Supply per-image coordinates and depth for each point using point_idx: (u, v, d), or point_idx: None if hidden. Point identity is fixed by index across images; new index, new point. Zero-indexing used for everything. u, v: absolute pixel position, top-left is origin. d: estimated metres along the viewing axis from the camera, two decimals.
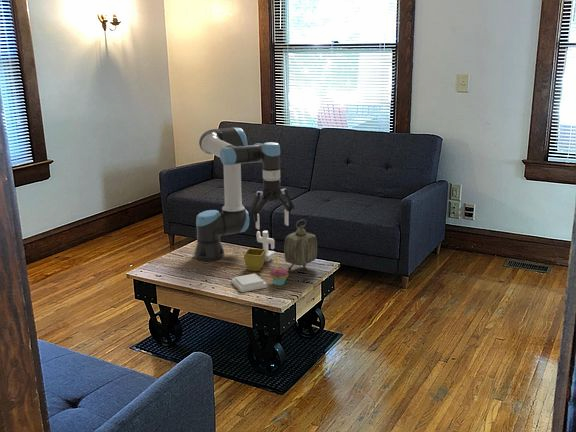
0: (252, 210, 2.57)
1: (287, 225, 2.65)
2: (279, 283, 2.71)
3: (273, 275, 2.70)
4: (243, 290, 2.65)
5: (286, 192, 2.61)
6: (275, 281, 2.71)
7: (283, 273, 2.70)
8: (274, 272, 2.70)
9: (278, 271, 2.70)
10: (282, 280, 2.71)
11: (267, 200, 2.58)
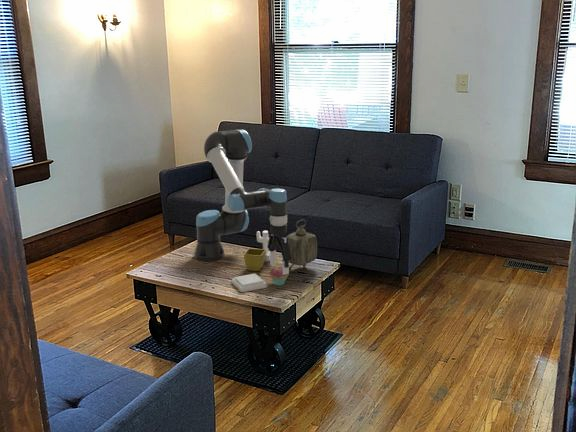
0: (268, 245, 2.77)
1: None
2: (279, 283, 2.71)
3: (273, 275, 2.70)
4: (243, 290, 2.65)
5: (282, 241, 2.62)
6: (275, 281, 2.71)
7: None
8: (274, 272, 2.70)
9: (278, 271, 2.70)
10: (282, 280, 2.71)
11: (272, 241, 2.70)
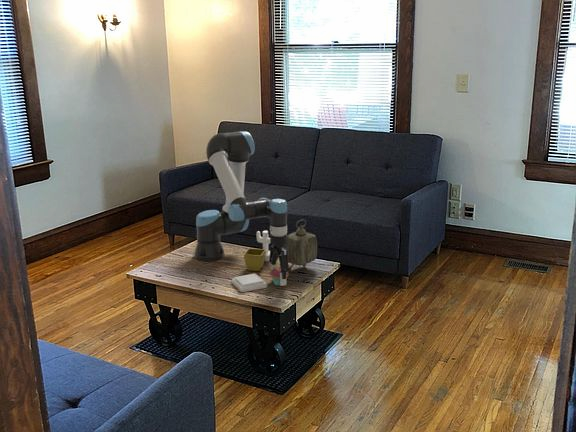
0: (269, 258, 2.78)
1: None
2: (279, 283, 2.71)
3: (273, 275, 2.70)
4: (243, 290, 2.65)
5: (282, 253, 2.64)
6: (275, 281, 2.71)
7: None
8: (274, 272, 2.70)
9: (278, 271, 2.70)
10: None
11: (273, 252, 2.71)
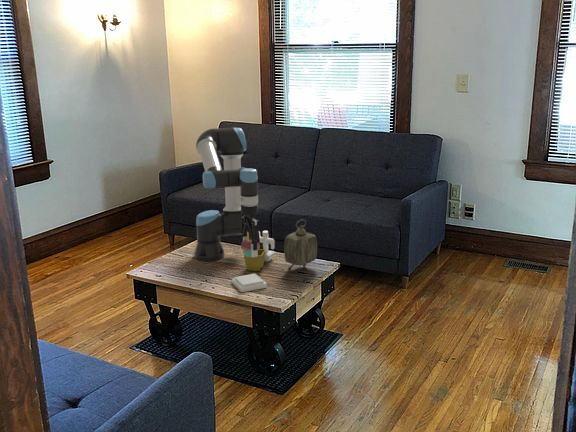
0: (240, 230, 2.72)
1: (251, 256, 2.64)
2: (250, 255, 2.66)
3: (244, 246, 2.64)
4: (243, 290, 2.65)
5: (252, 224, 2.58)
6: (246, 253, 2.66)
7: None
8: (245, 243, 2.65)
9: (249, 242, 2.65)
10: None
11: (244, 223, 2.66)
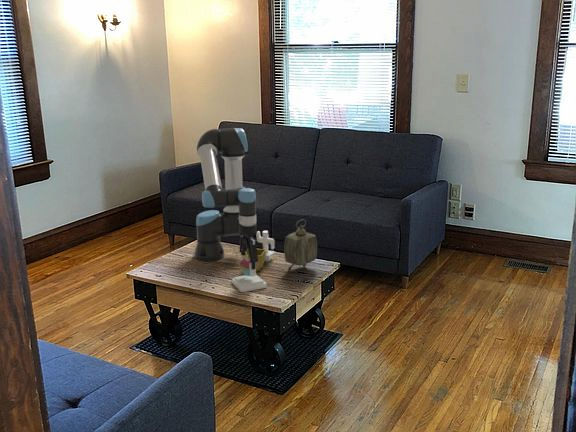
0: None
1: None
2: (249, 274, 2.68)
3: (242, 265, 2.66)
4: (243, 290, 2.65)
5: (250, 243, 2.60)
6: (244, 272, 2.68)
7: None
8: (243, 262, 2.67)
9: (247, 261, 2.67)
10: None
11: (242, 242, 2.68)
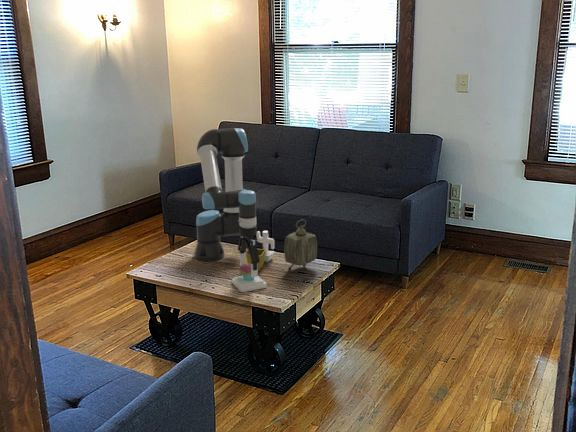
0: (238, 247, 2.76)
1: (251, 276, 2.64)
2: (248, 278, 2.69)
3: (242, 270, 2.67)
4: (243, 290, 2.65)
5: (251, 244, 2.60)
6: (244, 276, 2.69)
7: None
8: (243, 267, 2.68)
9: (247, 266, 2.68)
10: None
11: (242, 243, 2.69)
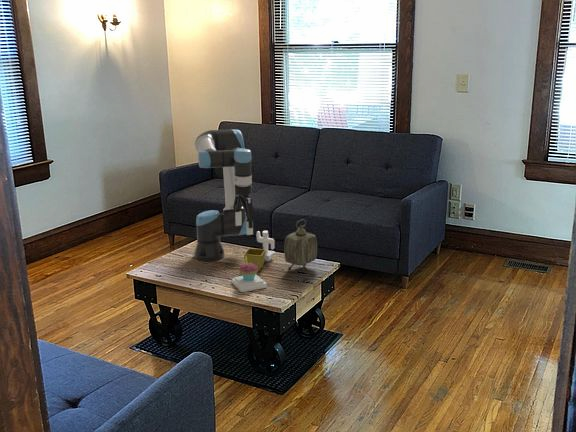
0: (233, 206, 2.77)
1: None
2: (248, 278, 2.69)
3: (242, 270, 2.67)
4: (243, 290, 2.65)
5: (246, 202, 2.62)
6: (244, 276, 2.69)
7: (252, 268, 2.68)
8: (243, 267, 2.68)
9: (247, 266, 2.68)
10: (251, 275, 2.68)
11: (237, 202, 2.70)
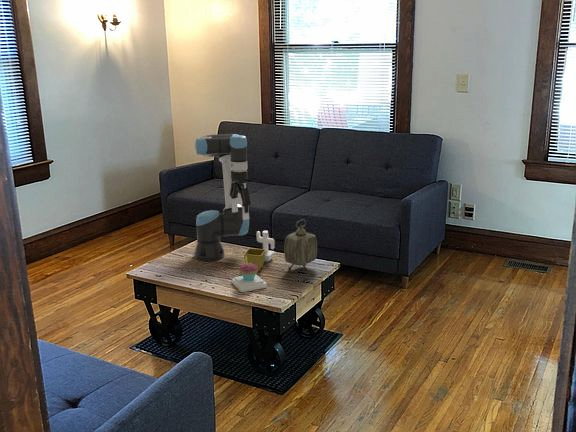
0: (230, 193, 2.83)
1: (242, 219, 2.71)
2: (248, 278, 2.69)
3: (242, 270, 2.67)
4: (243, 290, 2.65)
5: (242, 187, 2.67)
6: (244, 276, 2.69)
7: (252, 268, 2.68)
8: (243, 267, 2.68)
9: (247, 266, 2.68)
10: (251, 275, 2.68)
11: (234, 188, 2.75)
